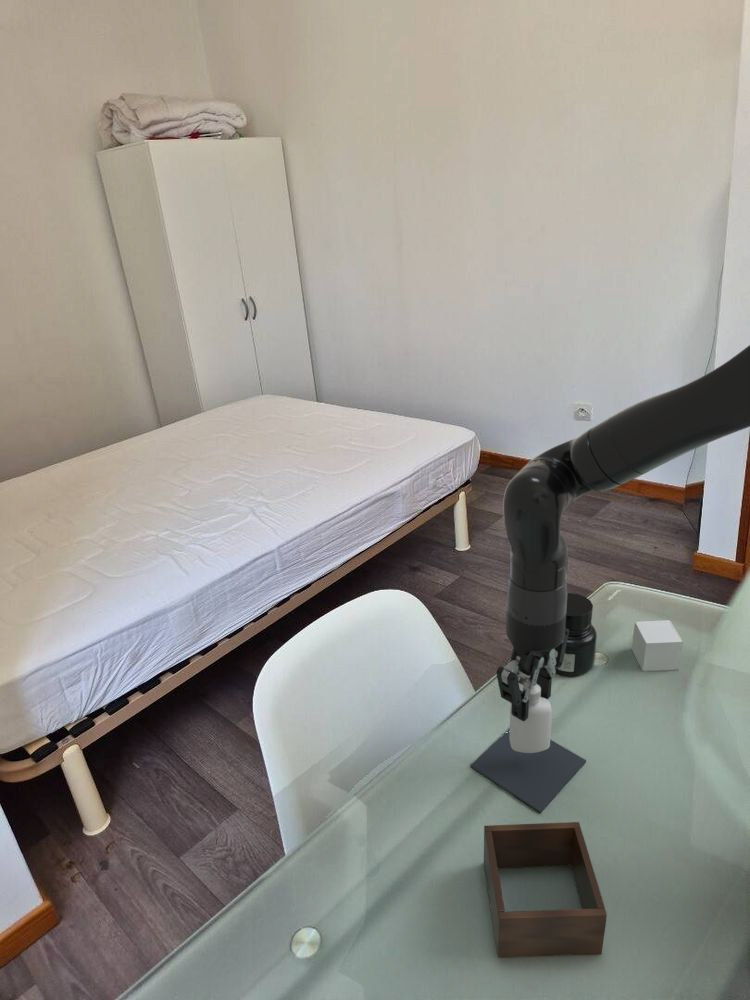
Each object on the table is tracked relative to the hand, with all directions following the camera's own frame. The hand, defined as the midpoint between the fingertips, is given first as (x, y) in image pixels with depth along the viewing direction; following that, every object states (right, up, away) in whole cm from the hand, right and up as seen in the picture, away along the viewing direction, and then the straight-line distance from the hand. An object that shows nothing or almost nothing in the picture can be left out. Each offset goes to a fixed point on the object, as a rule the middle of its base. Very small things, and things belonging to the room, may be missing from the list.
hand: (531, 705), depth 96 cm
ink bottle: (+12, 0, +25) cm, 28 cm away
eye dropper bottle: (0, -7, +3) cm, 8 cm away
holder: (-2, -20, -14) cm, 24 cm away
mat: (+1, -10, +5) cm, 11 cm away
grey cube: (+27, +1, +24) cm, 36 cm away
